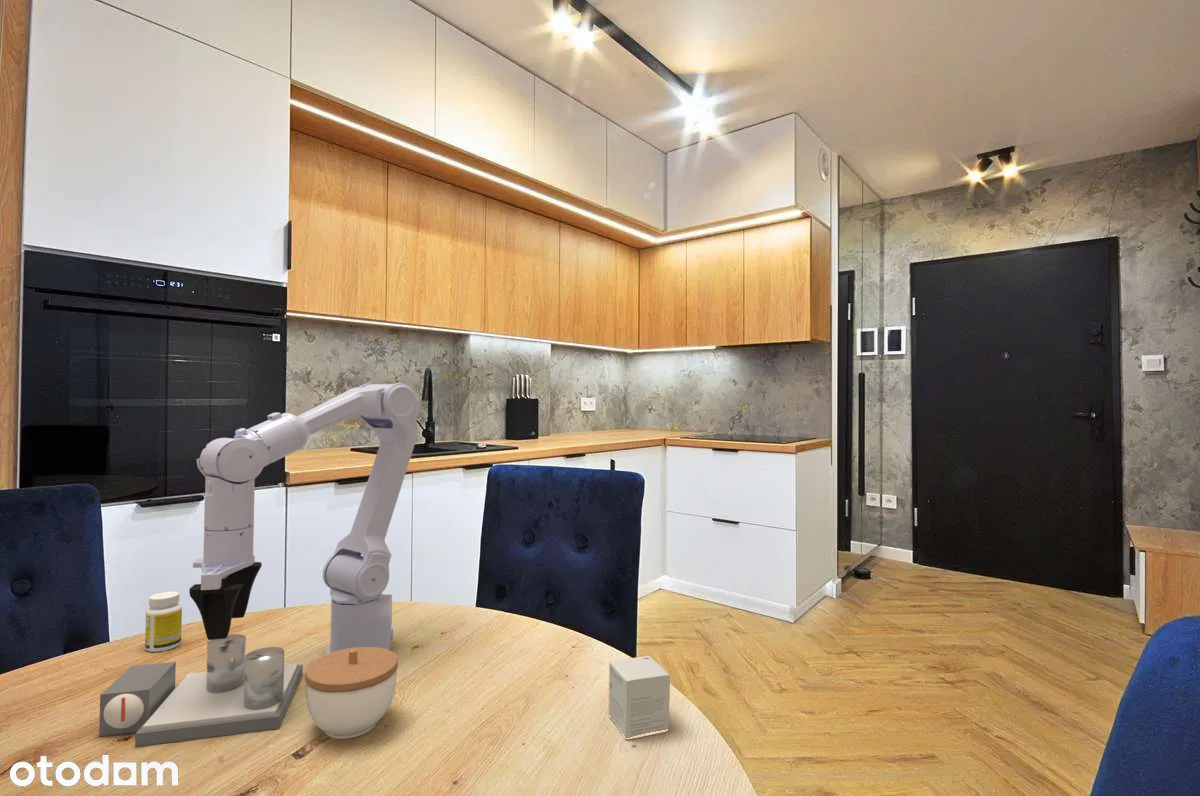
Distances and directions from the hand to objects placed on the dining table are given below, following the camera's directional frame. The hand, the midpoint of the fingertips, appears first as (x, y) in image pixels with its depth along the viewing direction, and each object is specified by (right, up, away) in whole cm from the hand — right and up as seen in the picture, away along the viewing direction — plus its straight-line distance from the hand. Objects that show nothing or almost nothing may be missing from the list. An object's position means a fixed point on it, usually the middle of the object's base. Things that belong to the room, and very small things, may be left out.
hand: (227, 627), depth 80 cm
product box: (+55, -11, -4) cm, 57 cm away
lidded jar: (+19, -10, -6) cm, 23 cm away
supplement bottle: (-21, -10, +17) cm, 28 cm away
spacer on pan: (+7, -8, -4) cm, 12 cm away
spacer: (0, -8, 0) cm, 8 cm away
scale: (-1, -10, -3) cm, 10 cm away
